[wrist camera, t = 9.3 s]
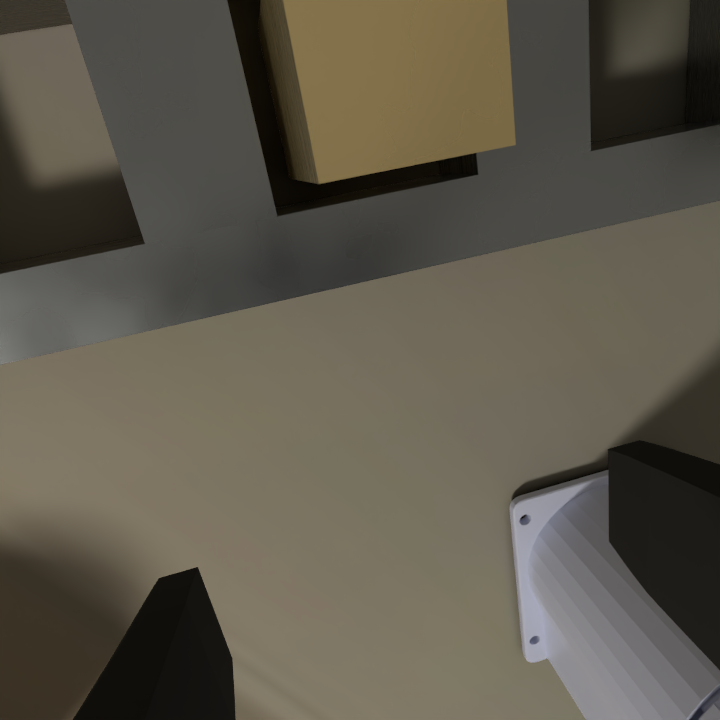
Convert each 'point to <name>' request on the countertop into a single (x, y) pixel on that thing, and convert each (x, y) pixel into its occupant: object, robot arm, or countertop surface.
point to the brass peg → (386, 82)
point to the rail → (336, 213)
